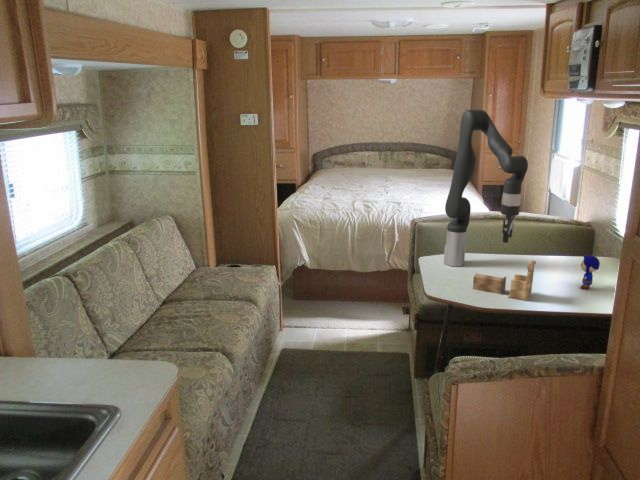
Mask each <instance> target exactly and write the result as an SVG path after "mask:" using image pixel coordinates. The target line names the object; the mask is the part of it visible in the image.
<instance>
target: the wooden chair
mask: <svg viewBox="0 0 640 480" xmlns="http://www.w3.org/2000/svg"><path fill="white" fill-rule="evenodd" d="M536 264H537V263H536V260H534V259H533V260H530V261H529V263H528V265H527V266H526V269H527V273H526V275H524V274H519V273H515V274H514V278H513V279H512V278H511V280H510V288H509V294H508V295H507V298H508V299H514V300H518V301H519V300H520V301H524V302H528V301H529V299H530V297H531V295H532V292H533V291H532V290H533V281H534V274H535V273H534V272H535V265H536Z"/></svg>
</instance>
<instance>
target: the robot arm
mask: <svg viewBox="0 0 640 480" xmlns="http://www.w3.org/2000/svg"><path fill="white" fill-rule="evenodd" d="M459 126H460V127H459V138H458V139H459V140H458V146H457V152H456V157H455V163H454V167H453V174H452V178H451V182H450V183H451V184H450V187H449V192H448V196H447V198H446V202H445V206H444V208H445V214H446V215H447V217H448V218H450V219H452V220H451V221H450V222H449V223H448V224H447V225H446V226H447V227H446V241H445V242H446V244H445V245H444V252H443V255H444V256H443V264H444V265H446V266H450V267H454V268H455V267H463V266H464V265H465V259H466V258H465V255H466V244H467V243H466V242H467V230H468V227H469V224H470V218H471V217H470V216H471V208H472V207H471V202H470V201H469V199H468V198H466V197H463V194H464V191H465V189H466V187H467V186H468V184H469V182H470V181H471V179H472V177H473V175H474V174H475V173H474V172H475V169H476V164H477V155H476V153H475V150H474V148H473V144H472V140H473V139H472V138H473V132H474V131H475V132H476V131H480V132H482V133H483V134H484V135H485V136H486V139H487V145H488V148H489V151H491V152H492V154H493V155H494V156H495V157H496V158H497V161H498V164H499V166H500V168H501V170H502V171H503V172H504V173H506V174H511V176H510V177H509V178H506V179H505V180H504V183H503V192H502V196H501V205H500V214H501V215H504V216H505V217H504V218H503V220H502V221H503V223H502V231H501V234H502V243H506V244H508V243H509V238H512V237H513V229H514V228H515V221H516V216H519V215H520V211H521V210H520V209H521V200H522V195H521V193H522V187H523V186H522V184H523V183H524V180H525V176H526V175H527V174H526V173H527V171H528V168H529V163H528V160H527V158H526V156H524V155H513V154H514V153H513V152H514V150H513V148H512V146H511V145H510V144H509V143H508V142H507V141H506V140H505V138H503V136H502V135H501V134H500V132H499V131H498V129H497V127H496V125H495V124H494V122H493V120H492V119H491V117H490V115H489V114H488V113H487V111H485V110H484V109H465V111H464V112H463V113H462V115H461V120H460V125H459Z"/></svg>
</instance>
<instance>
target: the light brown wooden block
mask: <svg viewBox="0 0 640 480" xmlns="http://www.w3.org/2000/svg"><path fill="white" fill-rule="evenodd" d="M472 283H473V284H472V290H475V291H480V292H486V293H492V294H496V295H504V293H505V292H506V283H507V277H506V276H503V277H500V276H499V277H498V276H493V275H487V274H481V273H475V274H474V275H473V281H472Z"/></svg>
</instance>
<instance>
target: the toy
mask: <svg viewBox="0 0 640 480" xmlns="http://www.w3.org/2000/svg"><path fill="white" fill-rule="evenodd" d="M600 266H601V263H600V260H599V258H598V257H597V256H596V255H587V254H585V255H583V260H582V262H581V264H580V269H581V270H582V271H583V272H585V273H584V274H583V277H582V280H581V281H582V284H581V285H580V286H579V289H581V290H585V291H589V289H590V288H591V285H592V284H593V272H596V271H597V270H599V269H600Z"/></svg>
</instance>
